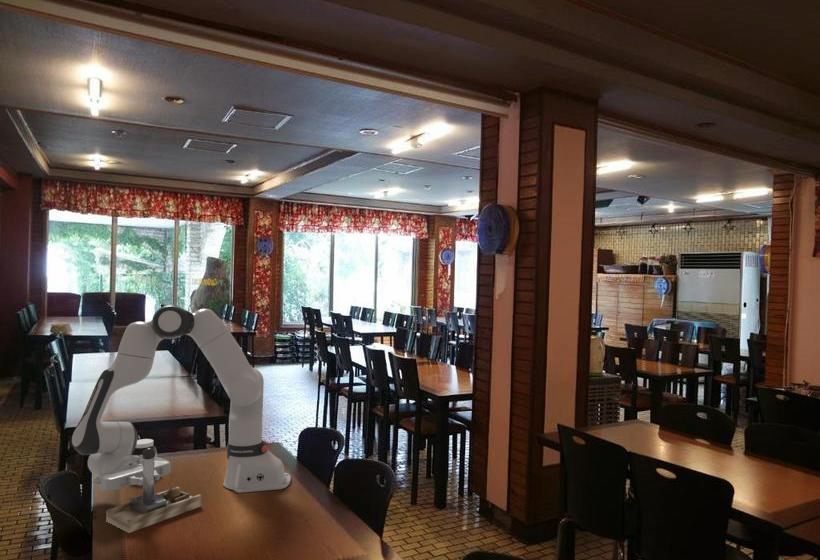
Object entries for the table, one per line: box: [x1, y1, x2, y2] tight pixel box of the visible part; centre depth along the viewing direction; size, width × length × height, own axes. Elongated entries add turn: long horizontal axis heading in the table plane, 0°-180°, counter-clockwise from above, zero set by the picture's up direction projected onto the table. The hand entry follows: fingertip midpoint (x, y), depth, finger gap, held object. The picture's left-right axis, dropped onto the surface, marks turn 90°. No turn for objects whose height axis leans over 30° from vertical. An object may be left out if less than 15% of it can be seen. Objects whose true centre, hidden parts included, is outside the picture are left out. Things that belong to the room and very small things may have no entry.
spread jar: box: [132, 438, 158, 457], centre depth 206 cm, size 12×11×12 cm
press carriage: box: [129, 448, 167, 514], centre depth 171 cm, size 7×9×18 cm
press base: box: [105, 486, 202, 534], centre depth 173 cm, size 23×12×4 cm, turn 146°
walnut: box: [167, 487, 181, 501], centre depth 178 cm, size 4×4×4 cm
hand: (150, 480), depth 170 cm, fingers closed on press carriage, 3 cm apart
